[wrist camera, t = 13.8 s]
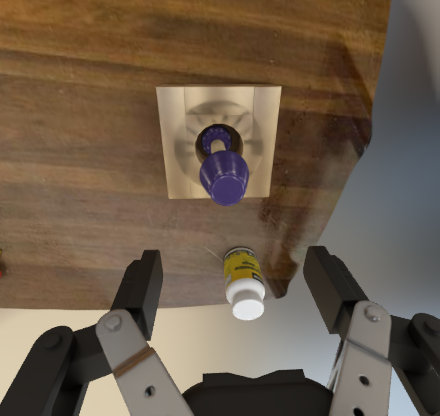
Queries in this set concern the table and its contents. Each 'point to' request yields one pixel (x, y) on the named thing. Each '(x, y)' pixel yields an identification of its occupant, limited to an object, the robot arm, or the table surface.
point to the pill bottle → (244, 283)
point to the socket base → (217, 114)
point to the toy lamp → (222, 168)
